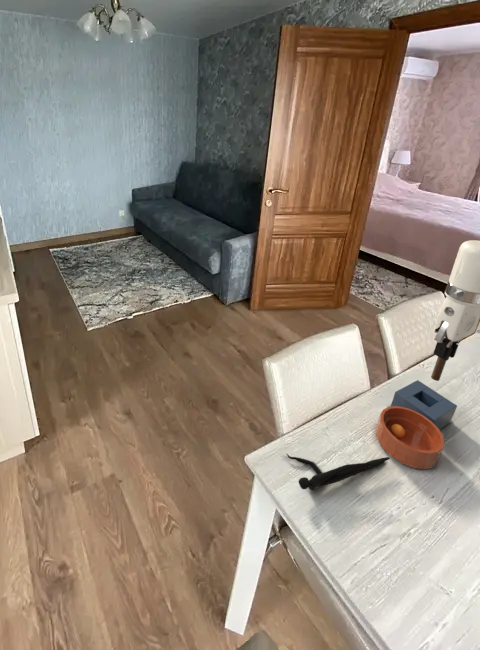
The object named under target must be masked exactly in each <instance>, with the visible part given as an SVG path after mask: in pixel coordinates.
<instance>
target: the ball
mask: <svg viewBox="0 0 480 650" xmlns="http://www.w3.org/2000/svg"><path fill="white" fill-rule="evenodd" d="M390 431H391V433H392V435H394V436H395V437H397V438H402V437H404V435H405V430H404V428H403V427H402V426H400V425H398V424H393V425H392V426H391V428H390Z"/></svg>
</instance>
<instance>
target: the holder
mask: <svg viewBox="0 0 480 650" xmlns="http://www.w3.org/2000/svg"><path fill="white" fill-rule="evenodd" d="M391 406H399V407H405V408H408V409H411V410H414V411H416V412H418V413H420V414H422V415H424V416H425V417H426V418H428V419H429V420H430V421H432V422H433V423H434V424H435V425H436V426H437V427H438V429H439V430H441V429H442V428H444V427H446V426H447V425H448V424H450V423H451V422H452V419H453V418H454V415H455V412H456V410H457V407H458V405H457V404H456V403H454V402H453V401H451V400H449V399H448V398H446V397H444V396H443V395H442V394H440V393H438V392H437V391H435V390H434V389H433V388H431V387H429V386H428V385H427V384H424V383H423V382H421V381H420V380H419V379H417V380H415V381H412V382H411V383H409V384H407V385H406V386H404V387H401V388H400V389H398V390H396V391H395V392H394V395H393V397H392V400H391V404H390V407H391Z"/></svg>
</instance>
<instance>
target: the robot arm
mask: <svg viewBox="0 0 480 650" xmlns="http://www.w3.org/2000/svg"><path fill="white" fill-rule="evenodd" d="M444 296H445V298H444V301H443V303H442V304H441V307H440V309H439V312H438V314H437V317H436V319H435V322H434V325H433V332H434V333H436V334H435V336H434V338H433V339H434V341H435V342H436V344H435V346H434V350H433V355H435V356H436V357H437V358H438V357H440V358H442V359H443V360H445V361H446V362H447V361H448V360H449V359H450V358H451V359H452V358H455V355H456V353H457V351H458V349H459V345H460V343H461V341H462V340H463V339H465V338H467V337H469V336H471V335H473V334H474V333H475V332H476V331H477V327H478V325H479V322H480V240H477V239H476V240H474V239H471V240H470V239H469V240H466V241H464V242H462V243H461V244H460V246H459V248H458V251H457V254H456V257H455V260H454V263H453V265H452V269H451V273H450V275H449V279H448V281H447V285H446V286H445V290H444ZM445 337H446V338H448V339H449V340H447V339H445ZM452 343H453V344H452ZM451 346H452V347H451Z"/></svg>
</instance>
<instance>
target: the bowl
mask: <svg viewBox="0 0 480 650" xmlns="http://www.w3.org/2000/svg"><path fill="white" fill-rule="evenodd" d="M393 424H398V425H400V426H402V427H403V428H404V430H405V435H404V437H402V438H397V437H395V436H394V435H392V433H391V431H390V428H391V426H392V425H393ZM375 436H376V439H377V442H378V444H379V445H380V446H381V447H382V449H383V450H384V451H385V452H386V453H387V454H388V455H389V456H390V457H391V458H393V459H394V460H396V461H397V462H399V463H401V464H402V465H406V466H408V467H410V468H414V469H419V470H427V469H431V468H434V466H436V465H437V463H438V461H439V458H440V456H441V455H442V452H443V449H444V446H445V439H444V434H443V433H442V431H441V429H438V427H437V426H436V425H435V424H434V423H433V422H432V421H430V420H429V419H428V418H426V417H425V416H424V415H422V414H420V413H418V412H416V411H414V410H411V409H408V408H405V407H399V406H391V405H390V406H387V407H386V408H384V409H382V411H381V413H380V414H379V418H378V421H377V424H376V427H375Z"/></svg>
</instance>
